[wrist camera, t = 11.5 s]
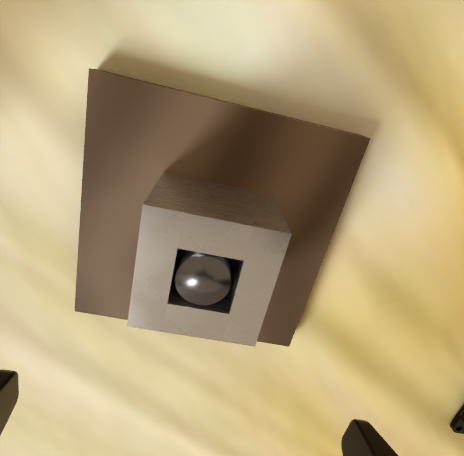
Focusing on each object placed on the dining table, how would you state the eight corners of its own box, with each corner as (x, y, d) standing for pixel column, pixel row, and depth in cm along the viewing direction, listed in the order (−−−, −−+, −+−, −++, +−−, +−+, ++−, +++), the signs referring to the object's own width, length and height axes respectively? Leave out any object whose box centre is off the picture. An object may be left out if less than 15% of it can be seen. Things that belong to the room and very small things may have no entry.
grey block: (274, 195, 18) (291, 234, 14) (247, 286, 20) (254, 346, 16) (163, 171, 17) (142, 204, 13) (149, 269, 20) (126, 326, 15)
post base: (362, 135, 18) (424, 159, 12) (286, 336, 23) (306, 414, 18) (96, 69, 16) (32, 63, 11) (80, 301, 22) (33, 375, 16)
